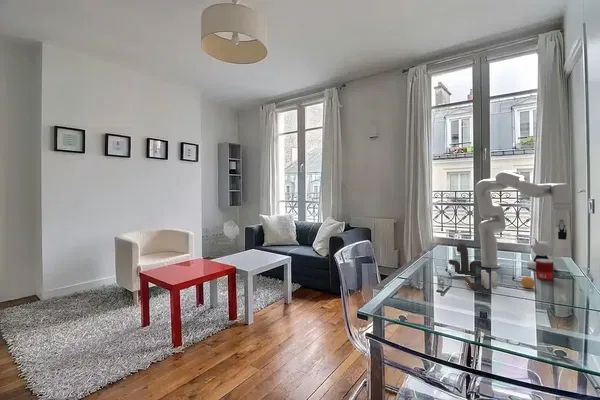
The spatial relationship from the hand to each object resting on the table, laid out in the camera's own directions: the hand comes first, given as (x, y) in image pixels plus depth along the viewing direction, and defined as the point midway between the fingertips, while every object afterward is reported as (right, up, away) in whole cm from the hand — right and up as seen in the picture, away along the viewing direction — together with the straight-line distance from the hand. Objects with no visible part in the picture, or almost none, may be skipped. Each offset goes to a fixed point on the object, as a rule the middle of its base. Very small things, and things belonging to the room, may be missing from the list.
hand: (562, 237), depth 158 cm
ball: (-17, -25, +2) cm, 30 cm away
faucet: (-35, -28, +33) cm, 56 cm away
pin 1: (-36, -29, +10) cm, 47 cm away
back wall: (-44, -29, +10) cm, 54 cm away
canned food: (+2, -26, +14) cm, 30 cm away
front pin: (-32, -29, +7) cm, 44 cm away
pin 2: (-38, -29, +6) cm, 48 cm away
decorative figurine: (+15, -24, +32) cm, 43 cm away
